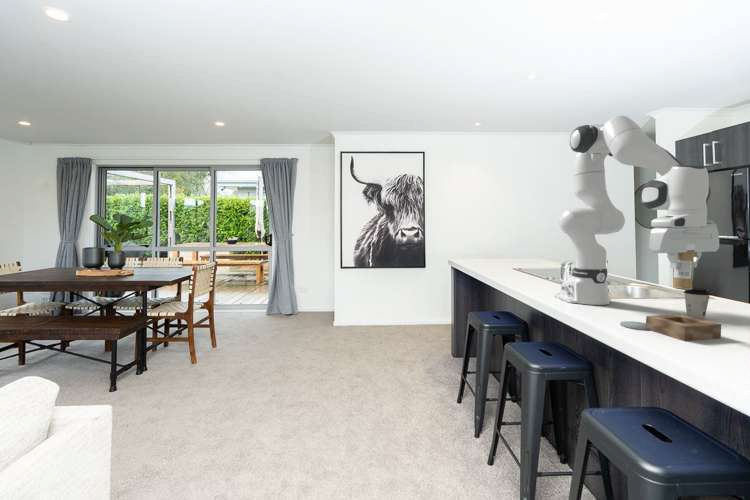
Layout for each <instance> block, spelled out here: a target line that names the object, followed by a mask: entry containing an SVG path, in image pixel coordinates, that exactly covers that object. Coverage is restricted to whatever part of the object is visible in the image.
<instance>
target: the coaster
mask: <svg viewBox="0 0 750 500" xmlns="http://www.w3.org/2000/svg"><path fill="white" fill-rule="evenodd" d="M619 325H620V326H621V327H623V328H627V329H629V330H636V331H651V330H650V329H649V328H646V322H640V321H632V320H631V321H630V320H629V321H626V320H625V321H621V322H620V324H619Z"/></svg>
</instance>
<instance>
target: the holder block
mask: <svg viewBox="0 0 750 500" xmlns="http://www.w3.org/2000/svg"><path fill="white" fill-rule="evenodd" d="M645 323H646V328H649V329H650V330H649V331H652V332H654V333H656V334H661V335H665V336H667V337H671V338H673V339H677V340H679V341H684V342H687V341H701V340H714V339H715V340H717V339H722V323H718V322H714V321H709V320H705V319H697V318H693V317H689V316H687V315H684V314H681V313H679V314H677V313H676V314H675V313H674V314H661V315H660V314H659V315H646V316H645Z"/></svg>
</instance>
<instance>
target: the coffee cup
mask: <svg viewBox="0 0 750 500" xmlns="http://www.w3.org/2000/svg"><path fill="white" fill-rule="evenodd" d="M683 293H684V302H685V309H686V311H685V312H686V316H689V317H693V318H697V319H702V320H705V319H706V316H707V309H708V304H709V301H710V296H711V292H710V291H708V290H707V289H706V288H701V287H693V289H691V290H683Z"/></svg>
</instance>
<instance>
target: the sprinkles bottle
mask: <svg viewBox="0 0 750 500" xmlns="http://www.w3.org/2000/svg"><path fill="white" fill-rule="evenodd" d="M694 250H695V244H687V251H686V252H685V253H678V257H676V258H677V260H678V262H680V268H673V284H672V285H673V286H672V288H673V289H675V290H676V289H677V290H681V291H685V290H691V289H693V288H694V287H693V278H694V268H693V264H694Z"/></svg>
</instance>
